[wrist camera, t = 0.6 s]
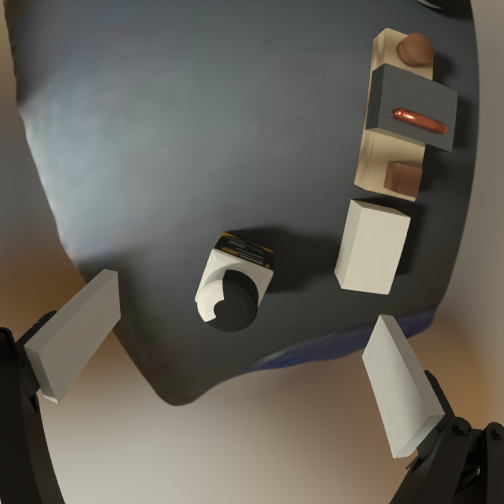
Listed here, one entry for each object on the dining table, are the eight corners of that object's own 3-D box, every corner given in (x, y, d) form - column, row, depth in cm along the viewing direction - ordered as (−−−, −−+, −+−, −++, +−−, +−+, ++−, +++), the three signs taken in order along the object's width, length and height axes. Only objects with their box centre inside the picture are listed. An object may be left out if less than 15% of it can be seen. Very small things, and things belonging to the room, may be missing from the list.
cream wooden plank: (373, 40, 28) (398, 15, 20) (416, 55, 28) (449, 38, 20) (354, 183, 35) (377, 195, 27) (398, 194, 35) (430, 208, 27)
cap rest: (351, 199, 36) (362, 207, 31) (395, 208, 36) (410, 218, 31) (334, 271, 39) (341, 288, 35) (376, 278, 39) (388, 294, 35)
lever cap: (372, 71, 26) (388, 59, 21) (440, 95, 26) (463, 90, 21) (364, 129, 28) (381, 127, 23) (433, 150, 28) (457, 153, 23)
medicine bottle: (274, 250, 39) (274, 293, 28) (254, 295, 41) (247, 349, 30) (222, 230, 38) (202, 266, 27) (205, 277, 41) (182, 325, 30)
